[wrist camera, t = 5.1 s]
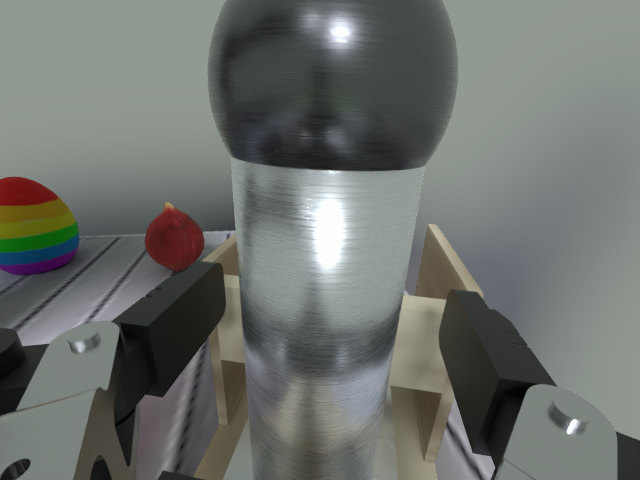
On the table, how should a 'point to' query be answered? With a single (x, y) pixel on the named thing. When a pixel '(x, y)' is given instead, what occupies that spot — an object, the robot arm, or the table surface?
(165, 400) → the table surface
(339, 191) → the shaft
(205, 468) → the frame
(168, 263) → the onion
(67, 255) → the decorative egg
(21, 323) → the table surface
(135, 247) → the table surface
